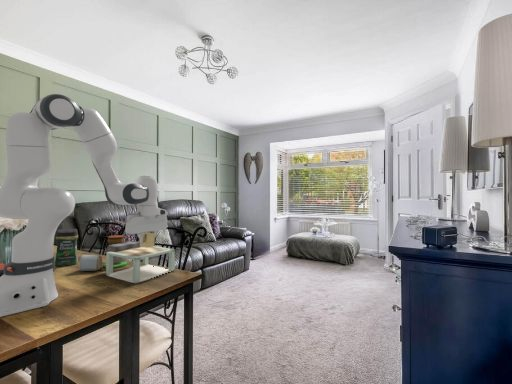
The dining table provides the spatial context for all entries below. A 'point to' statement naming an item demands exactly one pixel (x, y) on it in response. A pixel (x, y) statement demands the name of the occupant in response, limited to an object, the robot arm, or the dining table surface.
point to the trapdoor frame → (139, 266)
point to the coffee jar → (66, 247)
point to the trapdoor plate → (132, 249)
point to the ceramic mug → (90, 262)
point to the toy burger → (118, 260)
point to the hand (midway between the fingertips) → (147, 241)
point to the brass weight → (148, 240)
